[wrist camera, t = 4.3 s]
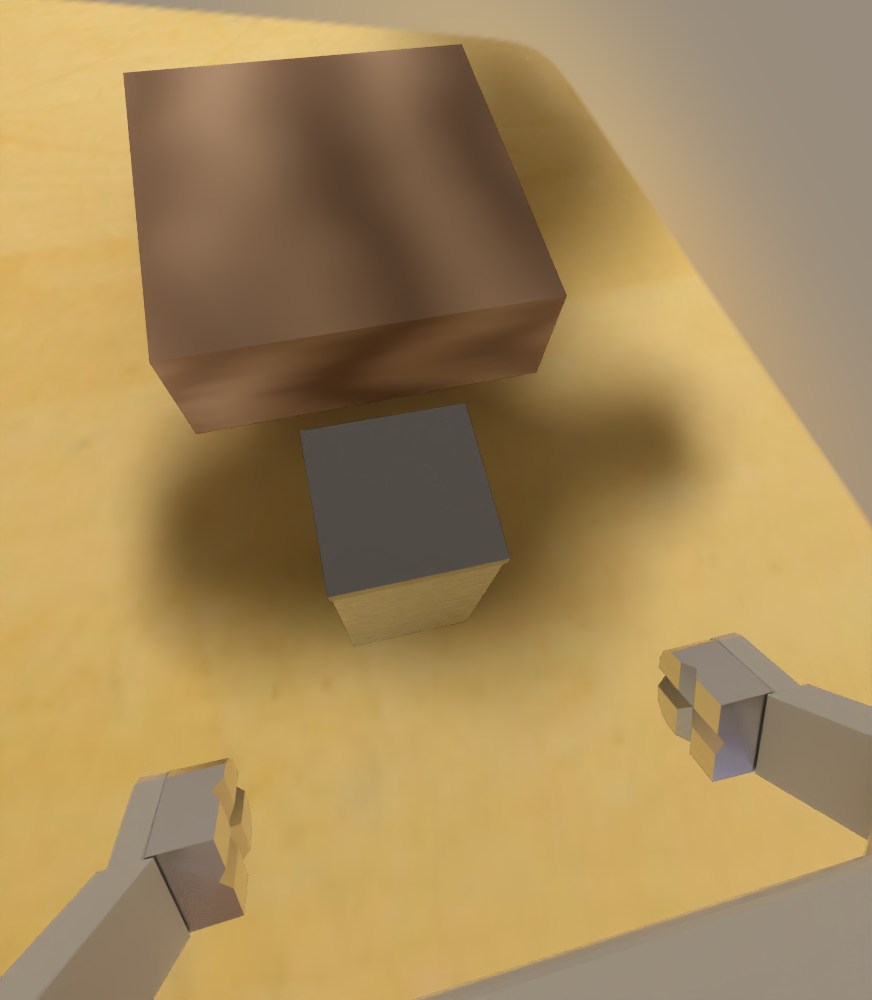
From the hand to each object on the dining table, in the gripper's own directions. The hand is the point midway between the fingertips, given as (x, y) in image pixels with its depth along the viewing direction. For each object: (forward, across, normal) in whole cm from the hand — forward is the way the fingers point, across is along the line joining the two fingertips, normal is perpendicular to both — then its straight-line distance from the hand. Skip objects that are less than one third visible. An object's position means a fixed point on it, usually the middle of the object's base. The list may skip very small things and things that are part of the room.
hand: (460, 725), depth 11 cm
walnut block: (+20, 0, -7) cm, 22 cm away
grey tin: (+10, 0, +3) cm, 10 cm away
